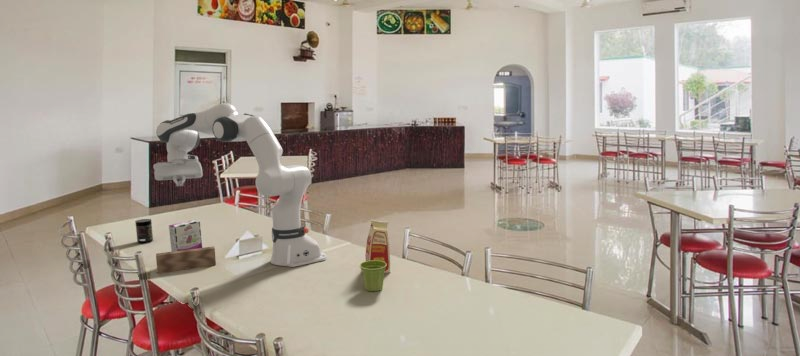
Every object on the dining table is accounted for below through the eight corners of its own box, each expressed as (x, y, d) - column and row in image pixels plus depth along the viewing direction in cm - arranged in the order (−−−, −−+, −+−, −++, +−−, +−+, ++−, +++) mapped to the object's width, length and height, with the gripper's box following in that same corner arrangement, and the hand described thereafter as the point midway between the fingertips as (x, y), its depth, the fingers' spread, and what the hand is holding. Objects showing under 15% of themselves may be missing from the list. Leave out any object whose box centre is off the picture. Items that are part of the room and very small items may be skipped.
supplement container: (155, 239, 231) (153, 218, 230) (151, 243, 225) (149, 221, 223) (139, 240, 230) (137, 219, 228) (135, 244, 223) (133, 222, 222)
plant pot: (354, 289, 166) (353, 265, 164) (372, 281, 173) (372, 258, 172) (374, 295, 160) (374, 271, 159) (392, 287, 167) (392, 263, 166)
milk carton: (369, 274, 180) (368, 222, 177) (364, 267, 189) (363, 217, 186) (393, 272, 182) (392, 221, 179) (387, 264, 191) (386, 215, 188)
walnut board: (215, 262, 195) (214, 246, 194) (215, 265, 193) (214, 248, 192) (157, 270, 187) (156, 253, 185) (157, 273, 184) (155, 255, 183)
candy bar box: (196, 256, 204) (193, 219, 201) (203, 258, 201) (200, 220, 198) (171, 264, 195) (168, 224, 192) (178, 266, 192) (175, 226, 189)
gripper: (152, 158, 218) (153, 182, 211) (201, 156, 227) (203, 179, 220) (153, 167, 223) (154, 191, 216) (201, 164, 231) (203, 187, 224)
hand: (179, 185), depth 218 cm, fingers closed
